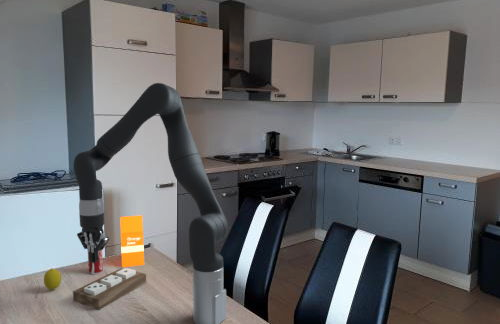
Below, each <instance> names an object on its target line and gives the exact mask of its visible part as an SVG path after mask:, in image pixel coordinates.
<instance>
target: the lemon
mask: <svg viewBox="0 0 500 324" xmlns="http://www.w3.org/2000/svg"><path fill="white" fill-rule="evenodd" d="M61 282H62V274H61V273H60V271H59V270H58V269H56V268H50V269H49V270H47V271H45V274H44V276H43V284H44V286H45V288H47V290H52V291H55V289H58V287H60V285H61Z"/></svg>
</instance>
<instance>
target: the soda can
mask: <svg viewBox="0 0 500 324" xmlns="http://www.w3.org/2000/svg"><path fill="white" fill-rule="evenodd" d="M98 254H99V260H98V262H96V263H91V262H90V259H89V252H88V251H87V263H88V265H87V266H88V273H89V274H90V275H94V276H95V275H99V274H101V273H103V270H104V263H103V261H104V260H103V250H100V251H99V252H98Z"/></svg>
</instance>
